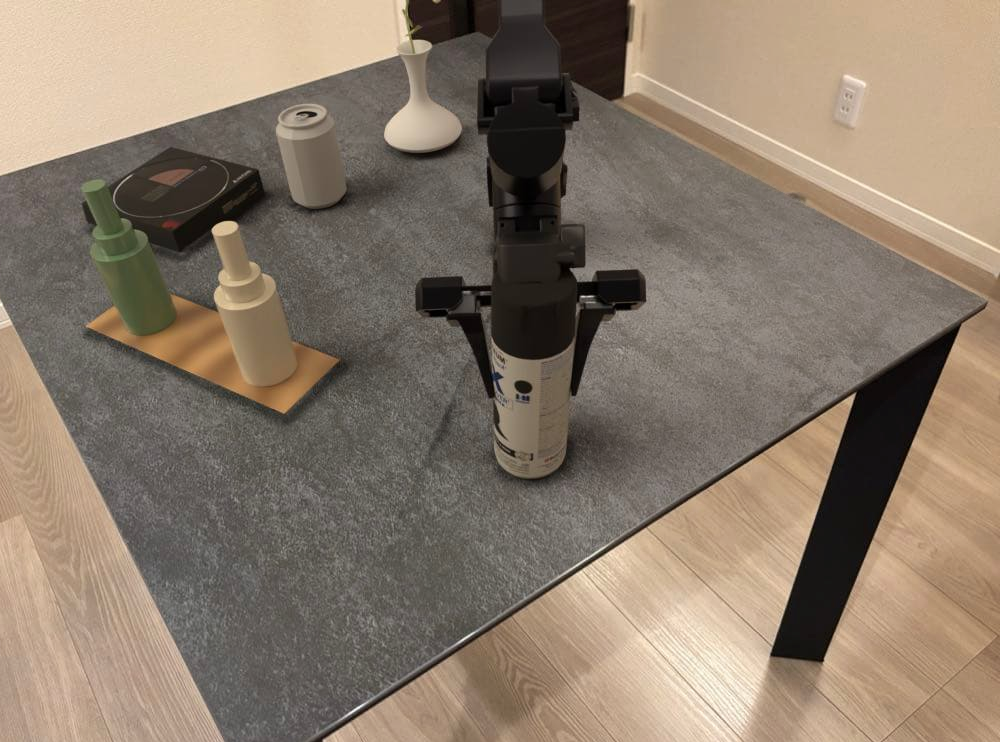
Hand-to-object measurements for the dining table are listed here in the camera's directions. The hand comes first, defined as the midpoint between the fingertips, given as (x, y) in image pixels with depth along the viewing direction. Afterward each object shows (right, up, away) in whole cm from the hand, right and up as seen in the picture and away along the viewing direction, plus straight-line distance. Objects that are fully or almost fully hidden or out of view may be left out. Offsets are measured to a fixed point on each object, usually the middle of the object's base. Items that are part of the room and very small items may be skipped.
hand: (531, 397), depth 69 cm
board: (-34, +6, +22) cm, 40 cm away
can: (-25, +28, +43) cm, 57 cm away
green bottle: (-41, +9, +25) cm, 49 cm away
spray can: (+1, -5, +7) cm, 9 cm away
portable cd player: (-44, +26, +43) cm, 67 cm away
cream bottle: (-26, +3, +17) cm, 31 cm away
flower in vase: (-11, +39, +53) cm, 66 cm away
